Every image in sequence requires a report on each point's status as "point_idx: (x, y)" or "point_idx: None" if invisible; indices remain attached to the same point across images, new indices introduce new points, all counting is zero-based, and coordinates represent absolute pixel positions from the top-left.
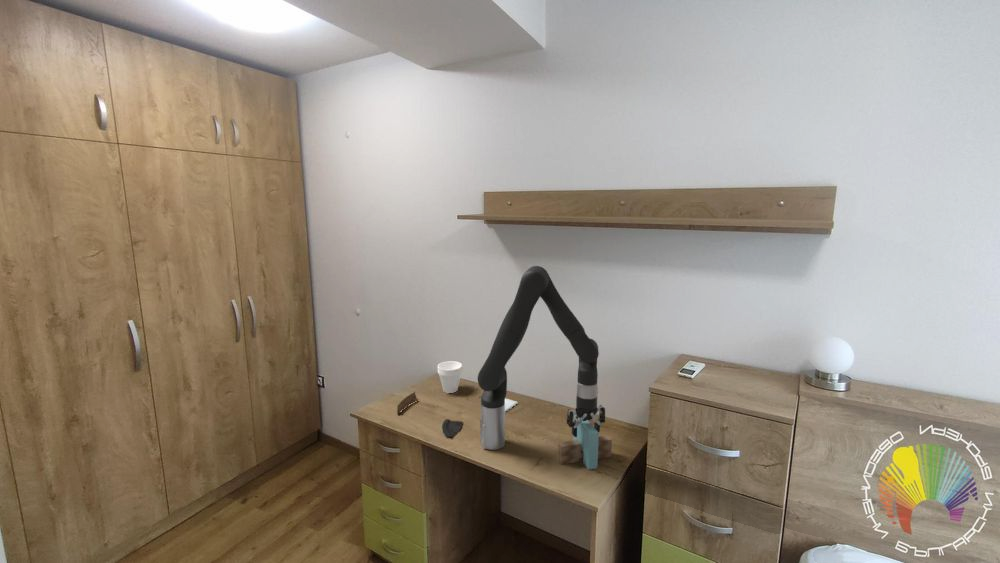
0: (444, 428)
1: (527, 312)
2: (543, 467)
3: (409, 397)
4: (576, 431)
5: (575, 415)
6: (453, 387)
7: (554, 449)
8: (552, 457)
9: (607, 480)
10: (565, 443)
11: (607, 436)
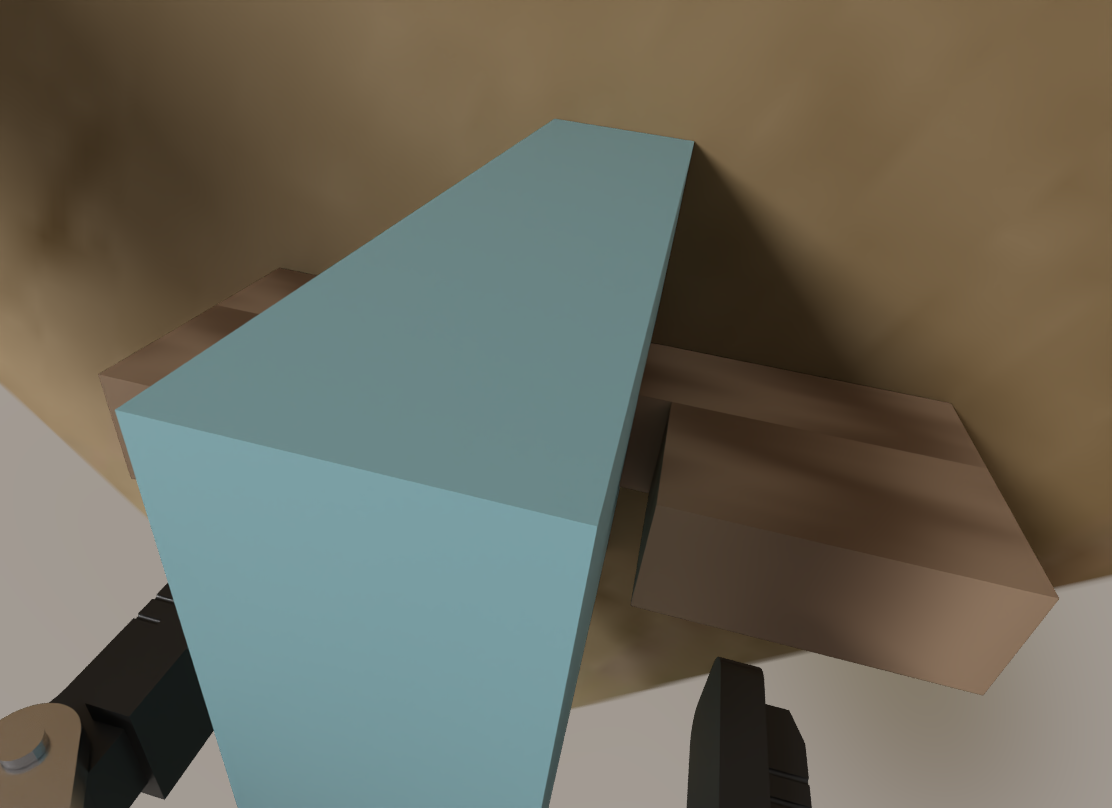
0: None
1: None
2: (111, 316)
3: None
4: (203, 720)
5: (188, 460)
6: None
7: (287, 20)
8: (225, 196)
9: (586, 674)
10: None
11: (1008, 613)
